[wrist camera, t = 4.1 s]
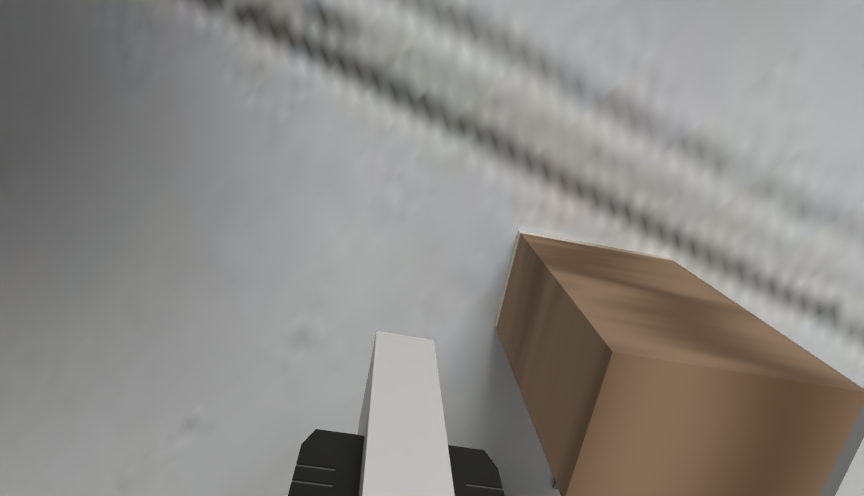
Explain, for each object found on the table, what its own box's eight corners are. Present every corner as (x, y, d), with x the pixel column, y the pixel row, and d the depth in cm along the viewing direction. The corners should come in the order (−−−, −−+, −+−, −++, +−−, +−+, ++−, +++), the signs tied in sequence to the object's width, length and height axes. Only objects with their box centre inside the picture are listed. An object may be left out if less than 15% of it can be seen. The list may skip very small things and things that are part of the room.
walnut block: (494, 324, 25) (563, 501, 15) (518, 230, 24) (612, 351, 13) (638, 347, 26) (801, 531, 15) (668, 258, 25) (869, 392, 14)
